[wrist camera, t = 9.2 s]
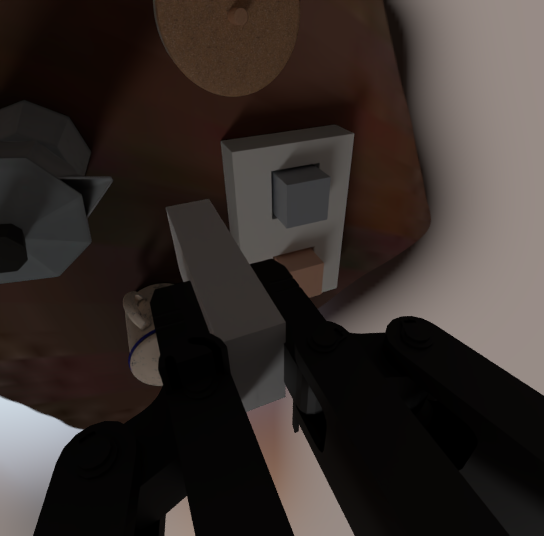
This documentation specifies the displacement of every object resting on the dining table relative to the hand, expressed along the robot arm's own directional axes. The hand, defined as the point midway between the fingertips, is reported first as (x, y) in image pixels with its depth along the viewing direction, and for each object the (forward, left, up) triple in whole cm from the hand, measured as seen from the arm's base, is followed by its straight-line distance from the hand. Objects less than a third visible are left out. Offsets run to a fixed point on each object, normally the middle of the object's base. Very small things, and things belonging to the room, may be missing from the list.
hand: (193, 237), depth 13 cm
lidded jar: (-6, +8, -27) cm, 29 cm away
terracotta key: (+22, +15, -24) cm, 35 cm away
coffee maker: (+4, -10, -27) cm, 29 cm away
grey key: (+10, +15, -24) cm, 30 cm away
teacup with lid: (+24, -3, -27) cm, 36 cm away
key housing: (+16, +15, -26) cm, 34 cm away
